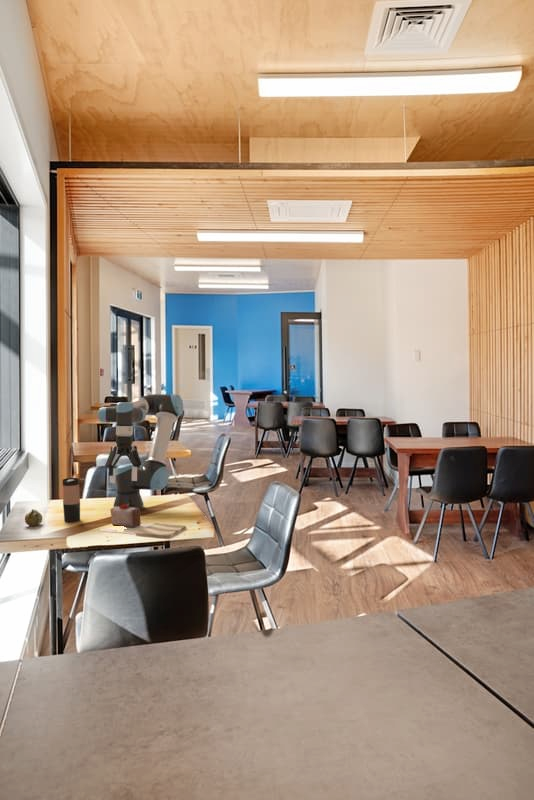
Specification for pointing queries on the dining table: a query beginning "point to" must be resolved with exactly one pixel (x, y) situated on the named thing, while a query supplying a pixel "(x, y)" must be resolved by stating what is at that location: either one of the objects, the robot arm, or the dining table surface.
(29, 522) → the onion
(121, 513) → the food item
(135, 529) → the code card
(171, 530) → the beige cloth
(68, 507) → the travel mug
